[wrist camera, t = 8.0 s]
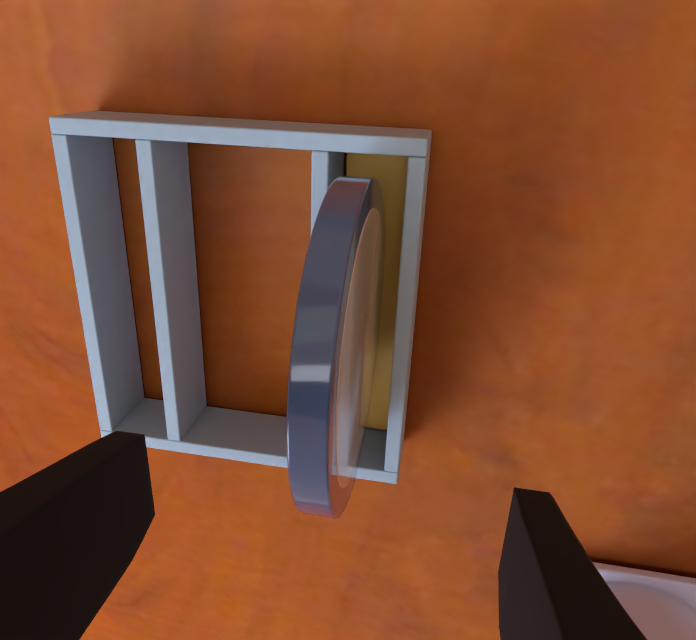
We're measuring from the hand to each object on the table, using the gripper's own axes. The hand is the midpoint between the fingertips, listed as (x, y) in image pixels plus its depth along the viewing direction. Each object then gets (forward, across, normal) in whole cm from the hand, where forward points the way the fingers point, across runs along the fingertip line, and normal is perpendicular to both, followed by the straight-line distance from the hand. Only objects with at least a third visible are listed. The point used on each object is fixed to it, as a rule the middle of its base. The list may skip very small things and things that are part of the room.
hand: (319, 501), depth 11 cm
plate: (+10, 0, 0) cm, 10 cm away
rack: (+10, +4, 0) cm, 11 cm away
